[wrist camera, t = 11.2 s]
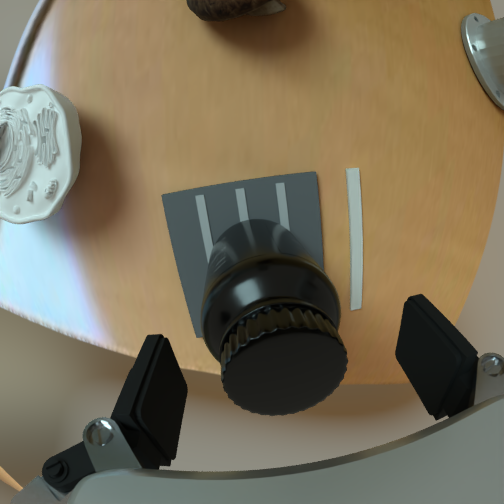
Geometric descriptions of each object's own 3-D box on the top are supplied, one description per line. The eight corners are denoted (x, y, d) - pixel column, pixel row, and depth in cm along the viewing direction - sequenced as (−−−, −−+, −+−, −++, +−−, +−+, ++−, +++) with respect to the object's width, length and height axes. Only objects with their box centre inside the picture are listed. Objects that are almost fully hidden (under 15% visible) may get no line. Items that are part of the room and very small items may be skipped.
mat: (314, 171, 19) (316, 171, 19) (323, 314, 23) (325, 318, 23) (163, 194, 19) (161, 195, 19) (197, 334, 23) (196, 338, 22)
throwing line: (357, 167, 19) (358, 167, 19) (359, 306, 23) (361, 308, 23) (345, 168, 19) (346, 168, 19) (349, 308, 23) (351, 310, 23)
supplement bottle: (242, 317, 22) (252, 445, 11) (191, 248, 20) (148, 357, 9) (317, 274, 21) (388, 381, 10) (273, 198, 19) (332, 255, 8)
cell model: (72, 238, 20) (25, 268, 13) (-4, 171, 17) (-52, 181, 10) (130, 129, 17) (87, 119, 11) (41, 73, 14) (-7, 58, 8)
